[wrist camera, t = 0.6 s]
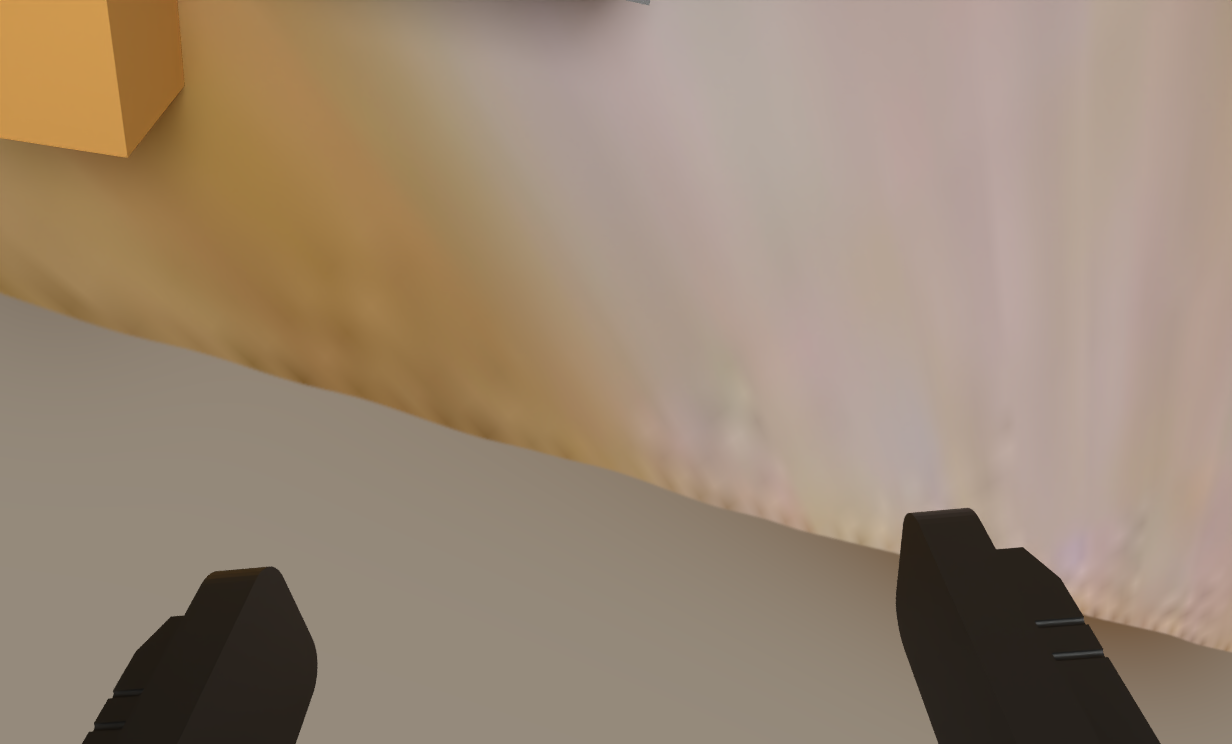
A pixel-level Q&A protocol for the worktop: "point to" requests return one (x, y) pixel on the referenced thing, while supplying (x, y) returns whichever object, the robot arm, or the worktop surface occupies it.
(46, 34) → the orange matte cube
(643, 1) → the grey square block
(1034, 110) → the worktop surface
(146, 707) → the robot arm
